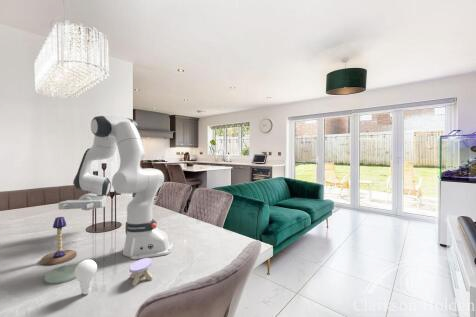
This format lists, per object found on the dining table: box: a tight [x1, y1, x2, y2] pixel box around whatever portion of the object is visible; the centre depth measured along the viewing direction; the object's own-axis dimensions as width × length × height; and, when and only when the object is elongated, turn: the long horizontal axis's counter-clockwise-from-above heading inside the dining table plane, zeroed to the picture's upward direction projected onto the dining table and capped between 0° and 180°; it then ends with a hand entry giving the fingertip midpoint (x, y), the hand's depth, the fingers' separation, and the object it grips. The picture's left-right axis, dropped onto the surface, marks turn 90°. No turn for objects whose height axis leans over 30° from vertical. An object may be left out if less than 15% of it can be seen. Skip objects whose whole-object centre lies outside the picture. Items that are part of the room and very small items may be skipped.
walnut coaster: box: [40, 249, 77, 266], centre depth 96 cm, size 12×12×1 cm
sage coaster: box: [44, 263, 79, 285], centre depth 83 cm, size 12×12×1 cm
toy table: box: [129, 257, 154, 286], centre depth 82 cm, size 10×9×6 cm
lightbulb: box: [75, 259, 98, 295], centre depth 72 cm, size 6×6×11 cm
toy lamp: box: [52, 216, 67, 258], centre depth 96 cm, size 5×5×17 cm
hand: (74, 207), depth 108 cm, fingers open, 8 cm apart
